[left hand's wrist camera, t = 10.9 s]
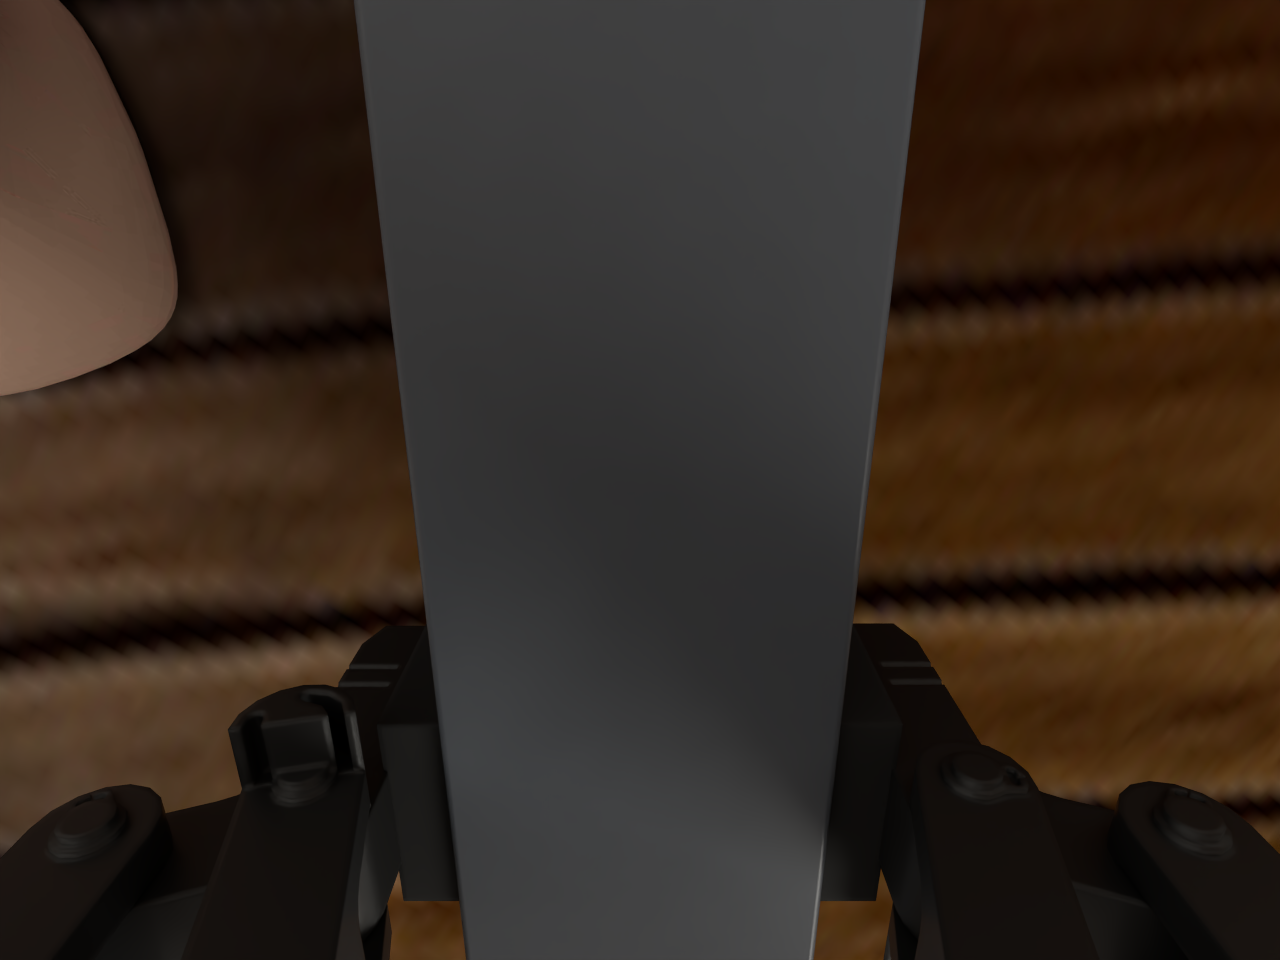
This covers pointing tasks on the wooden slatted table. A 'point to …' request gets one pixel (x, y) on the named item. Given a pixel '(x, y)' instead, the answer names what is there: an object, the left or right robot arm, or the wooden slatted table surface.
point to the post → (639, 440)
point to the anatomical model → (71, 208)
